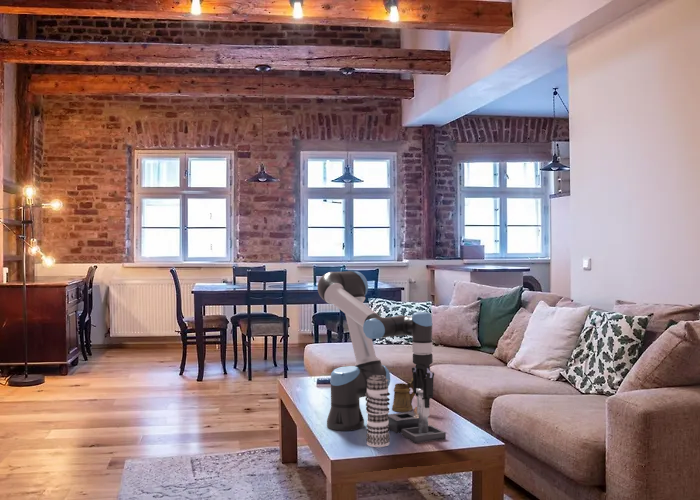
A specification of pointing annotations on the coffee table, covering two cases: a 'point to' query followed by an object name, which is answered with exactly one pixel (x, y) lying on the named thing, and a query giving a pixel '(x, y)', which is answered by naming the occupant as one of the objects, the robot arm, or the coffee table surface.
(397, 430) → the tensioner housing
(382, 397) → the decorative candle
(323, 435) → the coffee table surface
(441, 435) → the tray
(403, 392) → the wooden mug
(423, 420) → the lock pin
